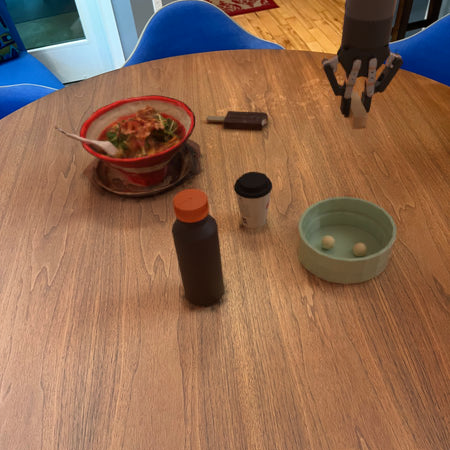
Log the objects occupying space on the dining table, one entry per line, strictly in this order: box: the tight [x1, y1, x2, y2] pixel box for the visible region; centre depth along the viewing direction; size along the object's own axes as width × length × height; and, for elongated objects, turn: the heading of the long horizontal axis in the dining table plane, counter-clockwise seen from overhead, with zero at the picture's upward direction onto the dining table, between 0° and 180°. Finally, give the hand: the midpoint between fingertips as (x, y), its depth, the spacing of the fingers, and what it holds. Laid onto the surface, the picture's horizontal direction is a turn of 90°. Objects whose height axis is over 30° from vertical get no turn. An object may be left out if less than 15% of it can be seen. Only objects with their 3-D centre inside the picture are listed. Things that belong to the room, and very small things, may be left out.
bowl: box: [296, 196, 398, 285], centre depth 83 cm, size 16×16×6 cm
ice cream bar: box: [205, 110, 269, 131], centre depth 116 cm, size 5×2×15 cm
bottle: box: [171, 188, 225, 308], centre depth 74 cm, size 7×7×20 cm
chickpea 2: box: [353, 243, 367, 257], centre depth 83 cm, size 2×2×2 cm
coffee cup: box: [233, 171, 273, 230], centre depth 89 cm, size 7×7×10 cm
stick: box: [347, 90, 369, 130], centre depth 86 cm, size 2×9×2 cm, turn 2°
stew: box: [54, 94, 202, 200], centre depth 99 cm, size 28×24×16 cm
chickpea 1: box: [321, 236, 335, 249], centre depth 85 cm, size 2×2×2 cm
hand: (354, 114), depth 86 cm, fingers closed on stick, 2 cm apart
